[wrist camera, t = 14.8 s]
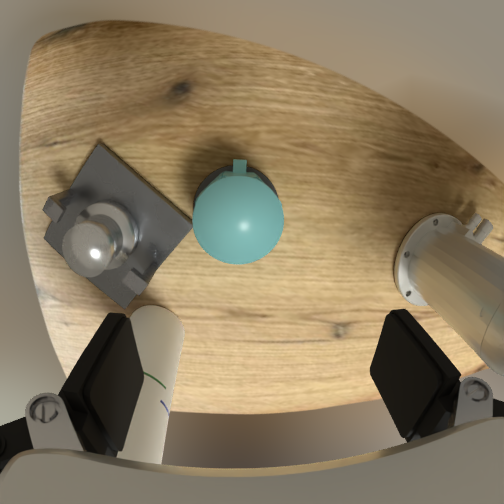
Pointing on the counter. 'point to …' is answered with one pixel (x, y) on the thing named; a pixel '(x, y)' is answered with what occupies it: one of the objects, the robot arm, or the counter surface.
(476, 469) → the robot arm
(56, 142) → the counter surface
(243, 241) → the cap
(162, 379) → the cylindrical container
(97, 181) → the grey square base plate
